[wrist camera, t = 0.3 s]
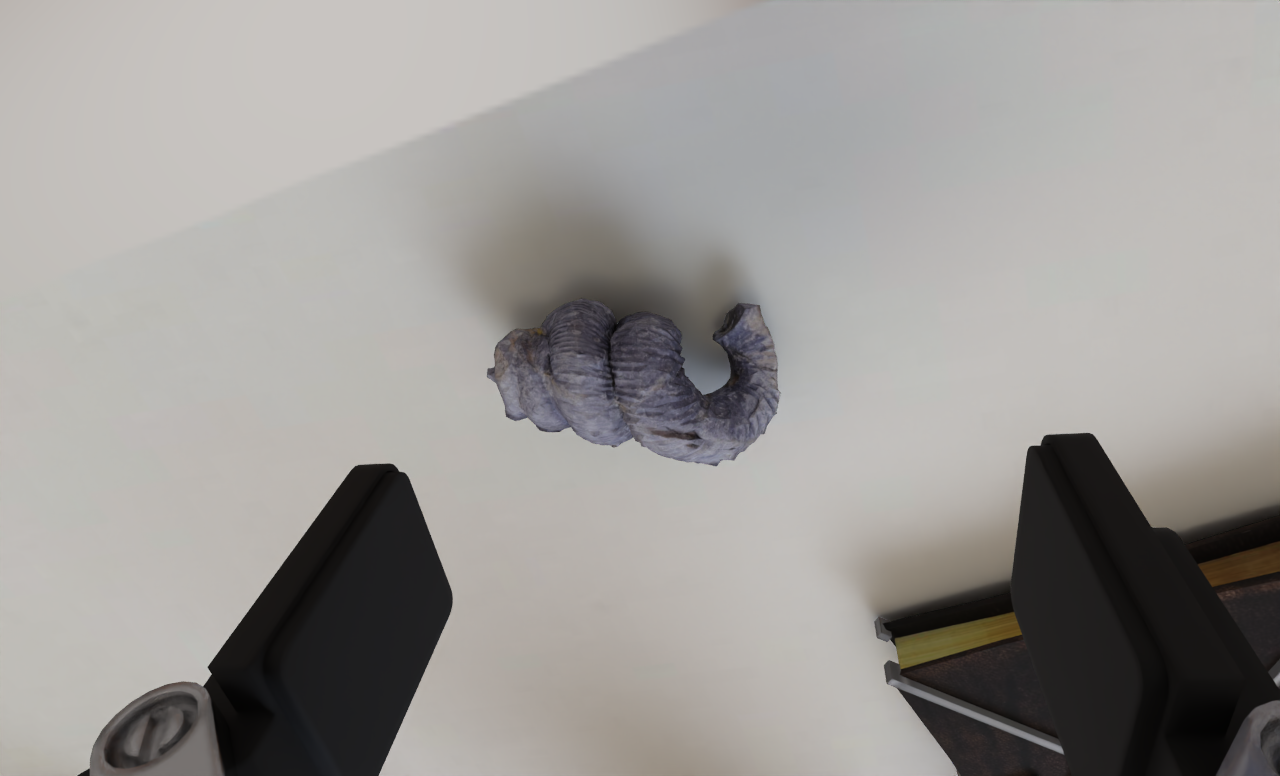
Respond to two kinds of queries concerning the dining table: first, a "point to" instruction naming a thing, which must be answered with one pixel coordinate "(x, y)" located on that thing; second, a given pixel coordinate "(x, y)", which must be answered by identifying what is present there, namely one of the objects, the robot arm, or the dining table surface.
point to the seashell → (638, 381)
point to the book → (1004, 674)
